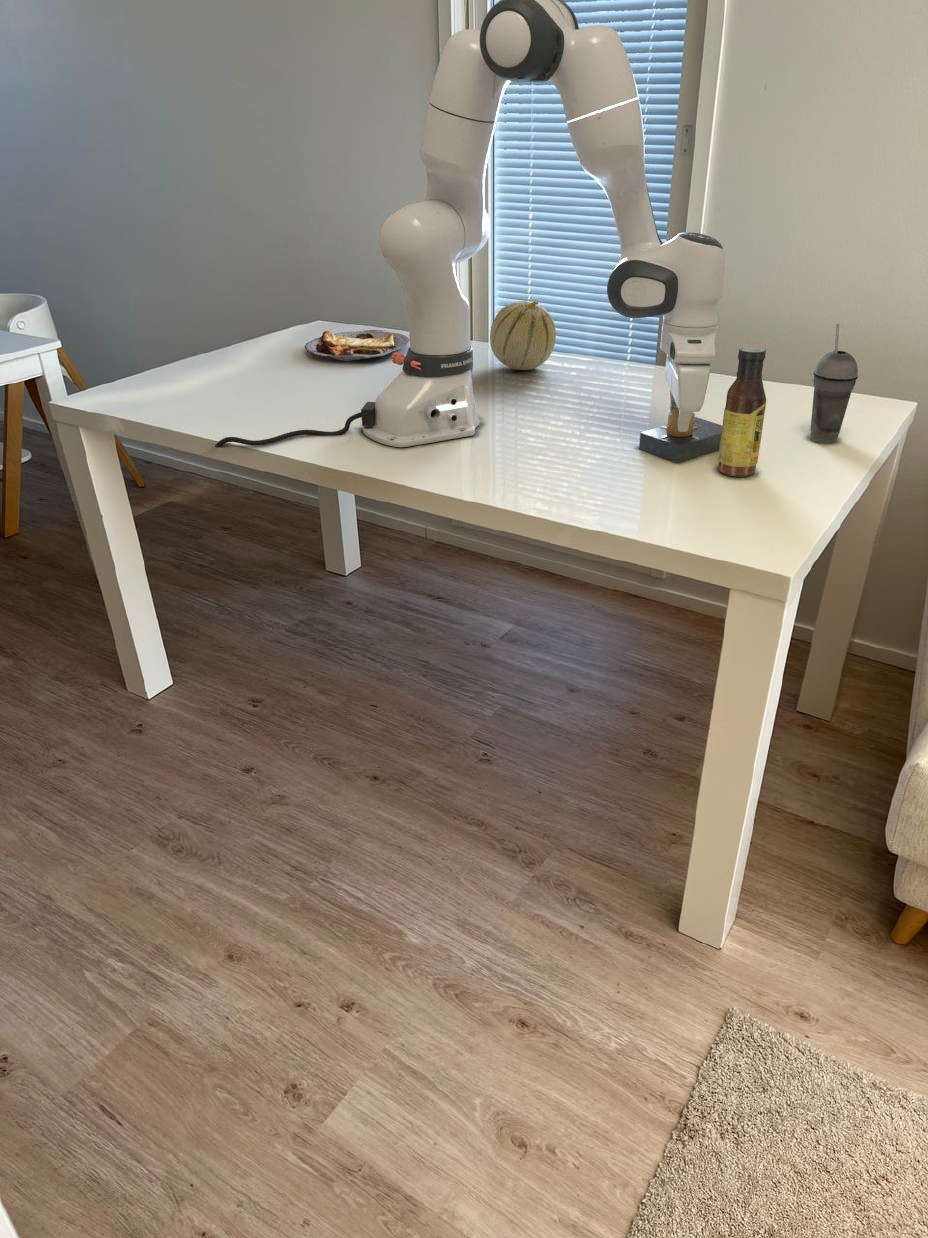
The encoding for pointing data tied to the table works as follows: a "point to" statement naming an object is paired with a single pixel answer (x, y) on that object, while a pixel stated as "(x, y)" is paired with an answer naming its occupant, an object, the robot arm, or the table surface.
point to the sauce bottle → (743, 416)
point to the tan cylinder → (672, 424)
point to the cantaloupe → (523, 335)
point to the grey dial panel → (682, 441)
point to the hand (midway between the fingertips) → (678, 421)
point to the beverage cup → (832, 393)
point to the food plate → (356, 344)
